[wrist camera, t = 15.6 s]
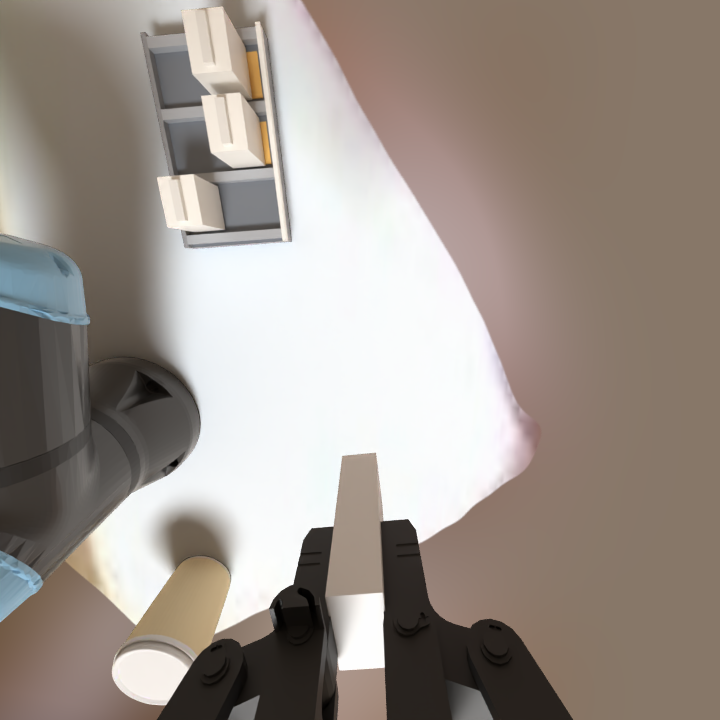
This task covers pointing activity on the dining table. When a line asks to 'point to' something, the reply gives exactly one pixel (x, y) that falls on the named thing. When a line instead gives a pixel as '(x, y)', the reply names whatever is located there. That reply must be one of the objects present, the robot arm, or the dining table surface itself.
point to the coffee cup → (172, 631)
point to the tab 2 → (233, 130)
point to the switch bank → (192, 150)
